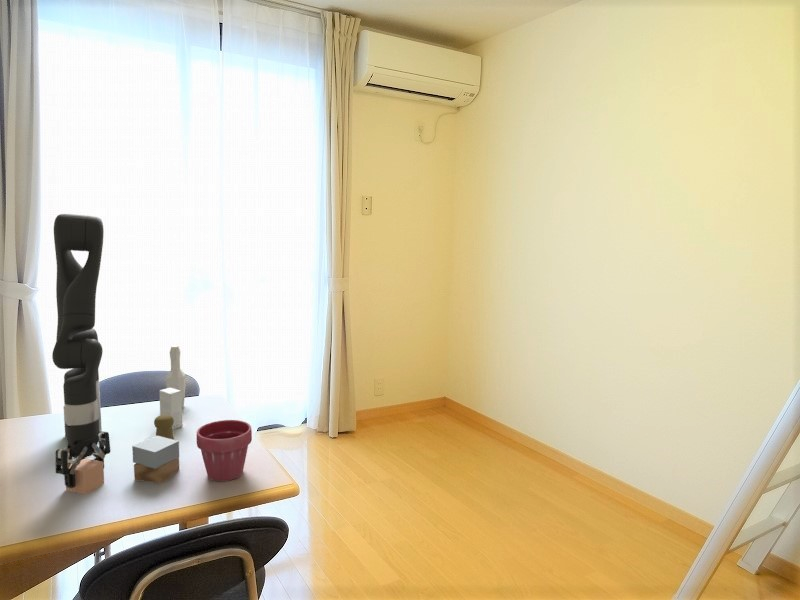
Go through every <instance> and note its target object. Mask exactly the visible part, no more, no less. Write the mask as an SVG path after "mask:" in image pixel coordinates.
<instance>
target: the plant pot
mask: <svg viewBox="0 0 800 600" xmlns="http://www.w3.org/2000/svg"><path fill="white" fill-rule="evenodd" d="M252 431H253V430H252V426H251V424H250V423H248V422H246V421H243V420H237V419H223V420H216V421H212V422H209V423H206V424H204V425H202V426H200V427H198V429H197V430H196V446H197V448H198V449H199V450H200V452H201V457H202V460H203V463H204V467H205V471H206V474H207V478H209V479H210V480H212V481H215V482H228V481H229V482H230V481H232V480H237V478H239V477H241V476H242V475H243V473H244V469H245V468H244V467H245V463H246V459H247V455H248V454H247V453H248V448H249V445H250V444H251V442H252V440H253V436H252V435H253V432H252Z"/></svg>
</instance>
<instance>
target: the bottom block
mask: <svg viewBox="0 0 800 600" xmlns="http://www.w3.org/2000/svg"><path fill="white" fill-rule="evenodd" d="M178 471H180V456H179V457H178V458H176V459H174V460H172V461H170V462H168V463H166V464H164V465H162V466H160V467H158V468H156V469H155V468H151V467H148V466H144V465H141V464H137V463H134V464H133V475H134V476H133V477H134V481H138V480H139V482H140V481H141V482H148V483H149V482H150V483H156V484H157V483H158V484H164V483H165V482H166V481H167V480H169V479H170V478H171V477H172V476H174V475H175V474H176V473H177V472H178Z"/></svg>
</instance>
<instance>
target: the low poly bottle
mask: <svg viewBox="0 0 800 600" xmlns="http://www.w3.org/2000/svg"><path fill="white" fill-rule="evenodd" d="M169 358H170V359H169V360H170V370H169V371H168V373H167V375H166V377H165V389H167V388H173V389H177V390H180V391H181V394H182V408H183V407H184V406H185V398H186V397H185V395H186V388H187V381H186V379H187V378H186V373H185V372H183V370H182V369H181V350H180V346H179V345H171V346H170V350H169Z"/></svg>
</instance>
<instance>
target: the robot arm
mask: <svg viewBox="0 0 800 600" xmlns="http://www.w3.org/2000/svg"><path fill="white" fill-rule="evenodd" d="M53 239H54V240H53V241H54V251H55V261H56V285H55V287H56V290H55V291H56V295H55V298H56V308H57V310H56V311H57V327H56V328H57V329H56V342H55V344H54V348H53V350H52V357H51V358H52V361H53V364H54V365H55V367H57V368H58V369H61V370H67V371H66V372H65V373H64V375H63V380H64V381H63V386H62V387H63V401H64V405H63V421H64V437H65V439H66V441H67V446H66V448H62V449H60V448H57V449H56V450H55V453H54V454H55V474H59V475H62V476H63V477H64V485H65V487H66V486H67V487H69V488H74V487H75V486H76V485H75V473H74V471H75V469H76V467H77V465H79V464H80V462H81V460H83V459H85V458H87V457H92V456H93V460H97V461H102V462H103V468H104V469H105V458H106V455H109V454H110V453H111V444H110V443H111V442H110V441H111V440H110V434H109V432H108V431H103V430H102V429H103V428H102V411H101V409H102V408H101V393H100V391H101V390H100V375H99V374H100V373H99V368H100V363H101V360H102V358H103V346H102V344H101V342H100V341H99V339H98V338H99V337H98V333H97V330H96V329H95V328H94V327H95V323H96V298H97V297H96V296H97V286H98V281H99V276H100V275H99V274H100V269H101V262H102V255H103V254H102V253H103V248H104V245H103V244H104V224H103V221H102V219H101V218H100V217H99V216H95V215H85V214H74V213H73V214H71V213H60V214H58V215H57V216H56V217H55V219H54V223H53ZM72 251H74V252H76V251H78V252H88V255H87V259H86V262H85V263H84V266H82V265H81V264H80V262H78V261H77V260H76V258H75V257H74V255H73V252H72ZM73 459H74V460H73ZM71 464H72V465H71ZM70 465H71V467H70ZM69 467H70V469H69Z"/></svg>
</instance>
